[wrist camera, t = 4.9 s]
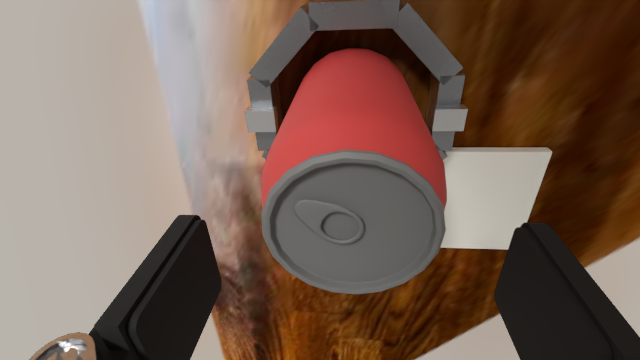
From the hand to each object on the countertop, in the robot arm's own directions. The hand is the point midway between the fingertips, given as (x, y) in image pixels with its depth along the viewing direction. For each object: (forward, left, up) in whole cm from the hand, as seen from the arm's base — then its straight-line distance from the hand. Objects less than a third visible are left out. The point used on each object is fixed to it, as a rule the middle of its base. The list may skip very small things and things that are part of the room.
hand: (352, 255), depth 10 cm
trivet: (+6, +8, -12) cm, 16 cm away
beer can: (-1, 0, -12) cm, 12 cm away
